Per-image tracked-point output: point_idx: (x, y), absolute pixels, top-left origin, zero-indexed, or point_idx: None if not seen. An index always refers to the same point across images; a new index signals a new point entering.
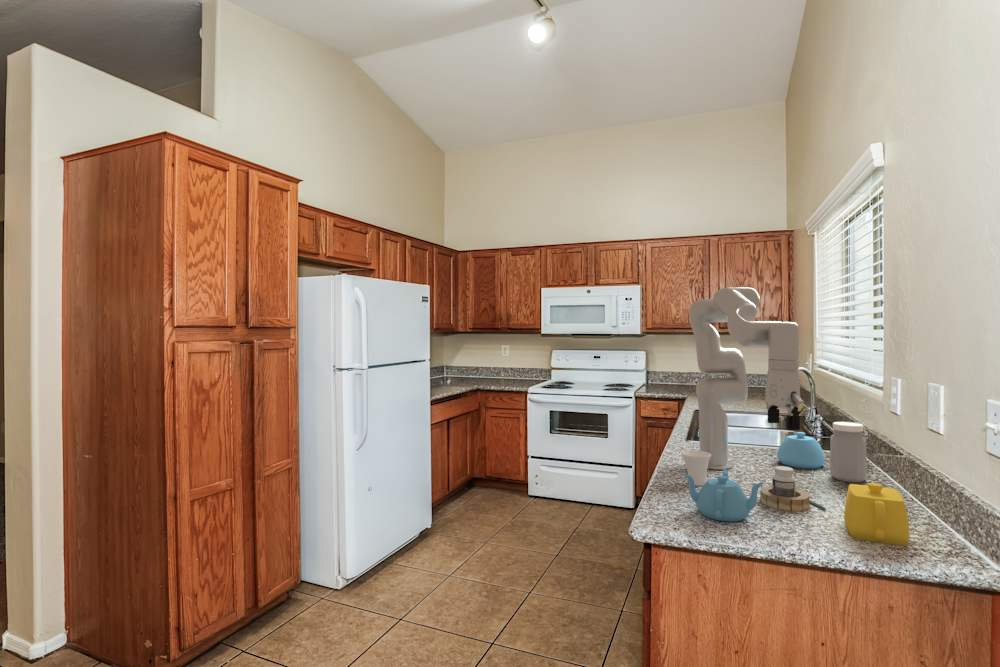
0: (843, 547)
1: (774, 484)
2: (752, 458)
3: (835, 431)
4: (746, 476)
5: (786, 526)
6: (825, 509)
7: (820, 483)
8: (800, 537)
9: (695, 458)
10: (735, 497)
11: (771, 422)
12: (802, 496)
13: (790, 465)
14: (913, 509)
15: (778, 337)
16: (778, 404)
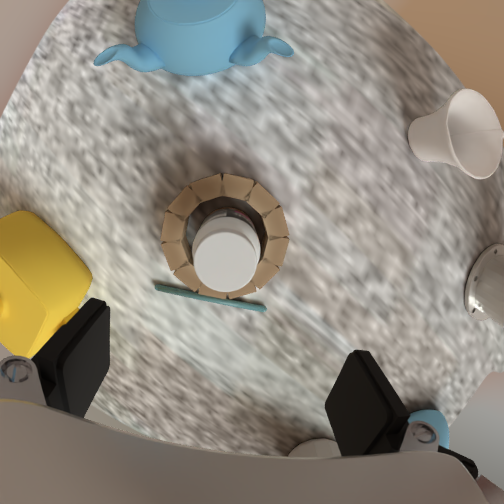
0: (7, 158)
1: (230, 214)
2: (470, 379)
3: None
4: (420, 298)
5: (95, 120)
6: (155, 287)
7: (315, 405)
8: (49, 111)
9: (449, 98)
10: (138, 6)
11: (345, 364)
12: (182, 261)
13: (411, 414)
14: (142, 422)
15: None
16: (85, 440)
